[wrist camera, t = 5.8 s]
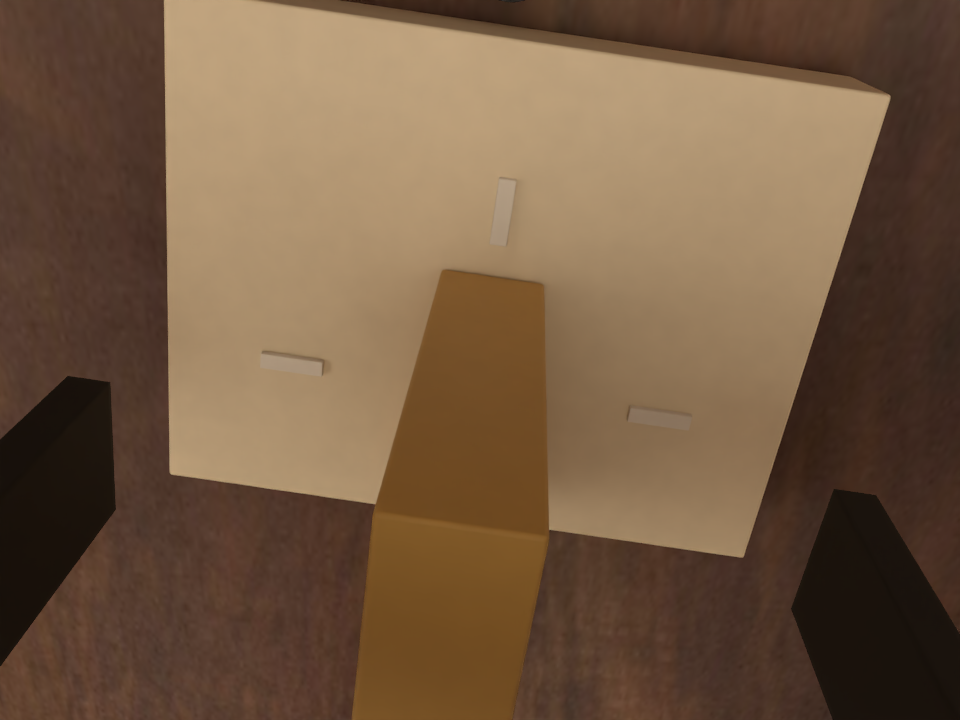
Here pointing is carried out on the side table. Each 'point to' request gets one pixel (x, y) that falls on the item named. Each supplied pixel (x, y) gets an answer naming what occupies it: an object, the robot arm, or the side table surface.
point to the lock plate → (498, 247)
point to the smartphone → (512, 0)
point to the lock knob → (460, 513)
